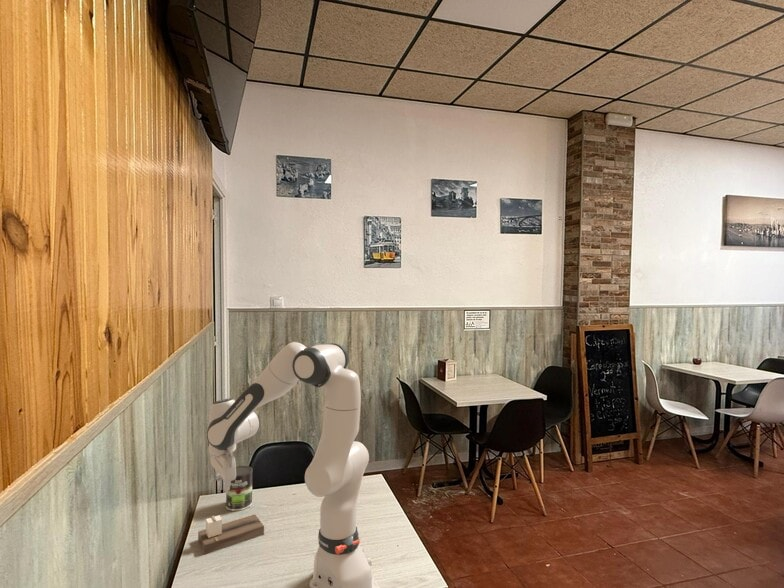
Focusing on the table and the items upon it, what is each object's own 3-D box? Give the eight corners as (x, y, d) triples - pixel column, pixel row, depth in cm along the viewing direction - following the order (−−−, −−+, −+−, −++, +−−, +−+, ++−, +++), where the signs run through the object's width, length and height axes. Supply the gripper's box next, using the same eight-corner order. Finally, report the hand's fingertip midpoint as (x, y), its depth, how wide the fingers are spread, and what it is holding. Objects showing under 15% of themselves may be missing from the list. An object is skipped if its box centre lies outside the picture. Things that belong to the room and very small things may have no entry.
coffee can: (251, 509, 167) (252, 474, 167) (224, 512, 164) (224, 477, 164) (253, 497, 177) (253, 464, 177) (227, 500, 174) (227, 466, 174)
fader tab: (221, 533, 144) (221, 518, 144) (208, 538, 141) (208, 522, 141) (219, 529, 147) (219, 513, 147) (205, 533, 144) (206, 517, 144)
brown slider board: (263, 534, 149) (264, 525, 149) (204, 554, 137) (204, 544, 137) (255, 522, 157) (255, 513, 157) (198, 540, 145) (198, 531, 146)
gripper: (240, 452, 138) (241, 493, 138) (224, 436, 155) (224, 473, 155) (221, 456, 135) (221, 499, 134) (206, 439, 151) (206, 477, 151)
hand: (222, 485), depth 145 cm, fingers open, 8 cm apart
